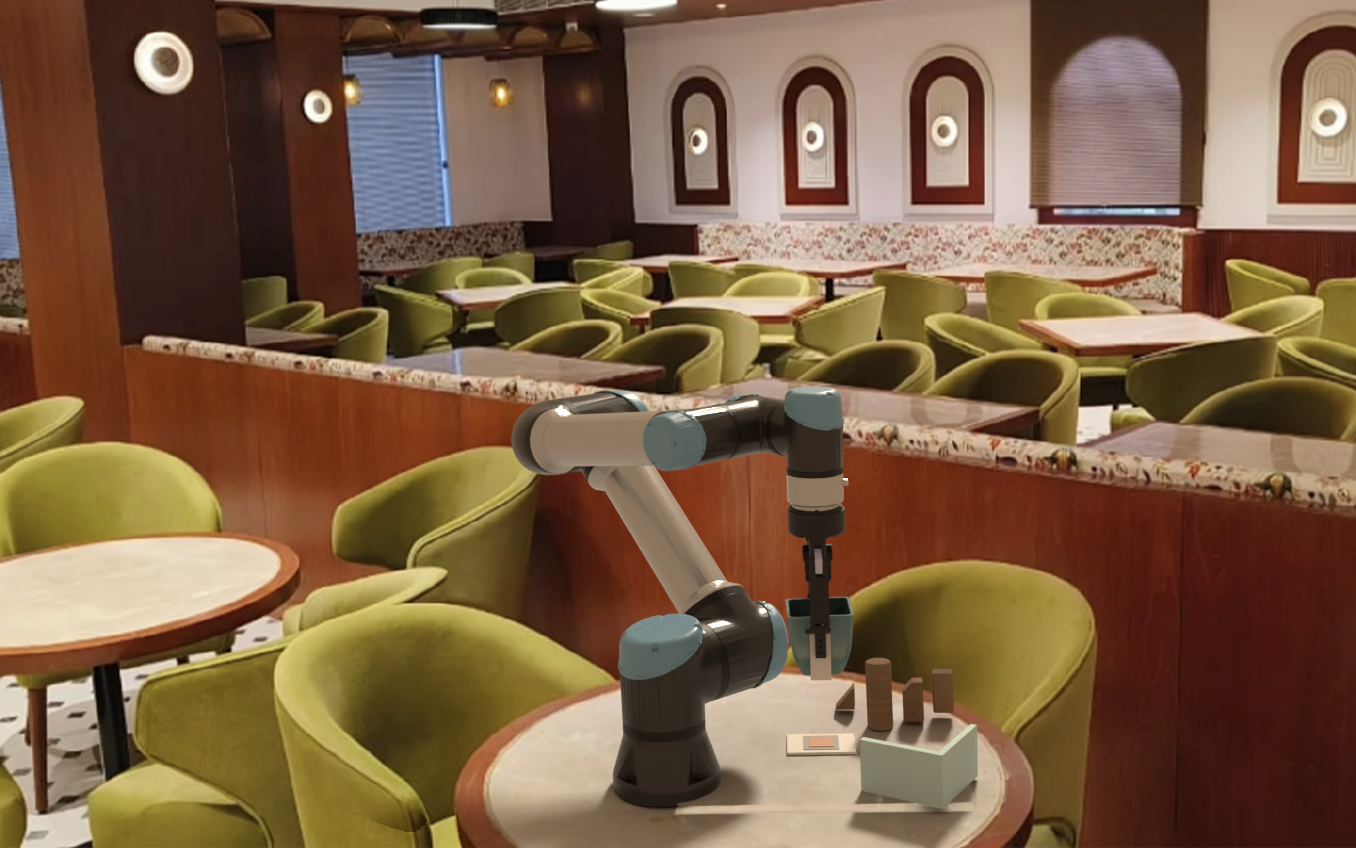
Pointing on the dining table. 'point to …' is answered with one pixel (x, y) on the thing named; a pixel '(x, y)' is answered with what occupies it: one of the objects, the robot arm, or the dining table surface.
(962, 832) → the dining table surface
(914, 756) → the right angle wall
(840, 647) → the flower pot
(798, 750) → the card
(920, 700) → the wooden block set
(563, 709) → the dining table surface
